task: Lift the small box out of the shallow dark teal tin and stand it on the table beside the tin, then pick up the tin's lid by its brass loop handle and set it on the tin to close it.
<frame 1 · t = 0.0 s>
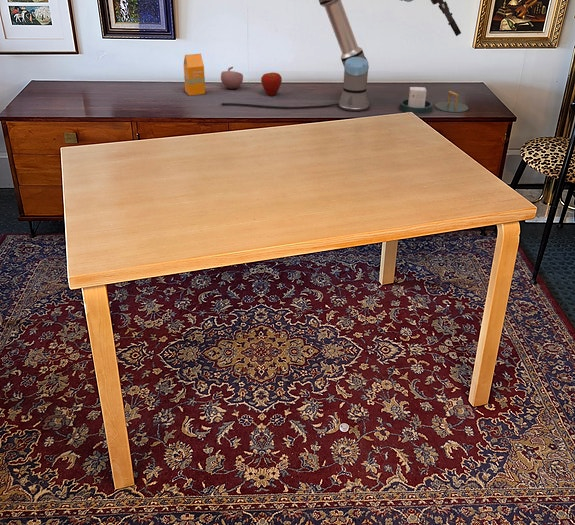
hand: (457, 31, 311), 36 cm above the table, tool tilted 35°, fingers open, 13 cm apart
orange juice: (195, 92, 339), on the table
tin: (415, 109, 321), on the table
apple: (271, 95, 338), on the table
pink round stemmed piece: (232, 88, 347), on the table
small box: (415, 109, 321), resting on tin
tin lid: (451, 107, 322), point 1 cm above the table
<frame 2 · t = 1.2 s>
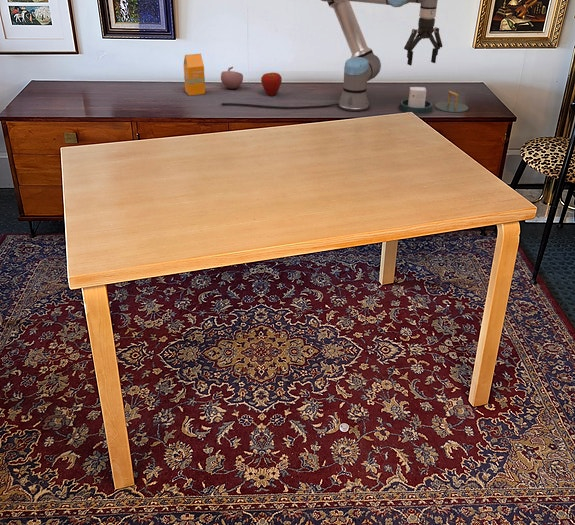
hand: (421, 63, 309), 23 cm above the table, tool pointing down, fingers open, 13 cm apart
nothing on the table moved.
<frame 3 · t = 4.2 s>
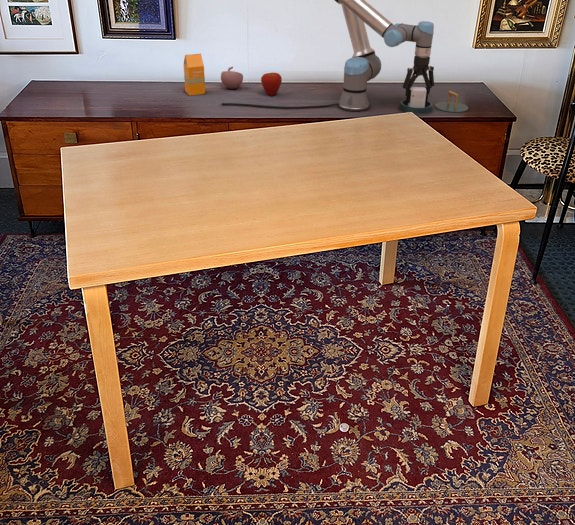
hand: (416, 101, 318), 4 cm above the table, tool pointing down, fingers closed on small box, 9 cm apart
small box: (415, 109, 321), resting on tin, touching gripper
everything else where it was.
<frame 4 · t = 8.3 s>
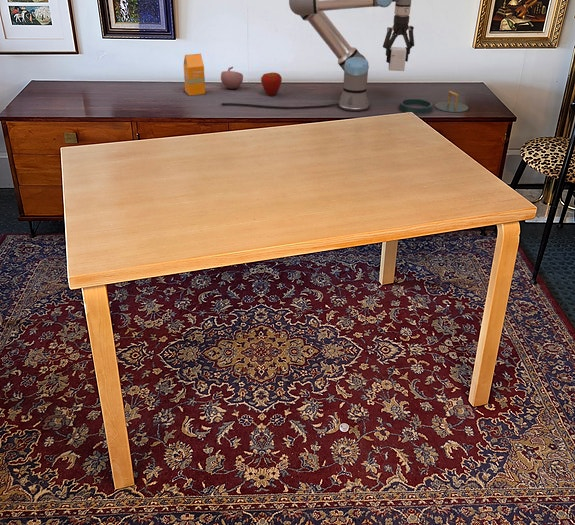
hand: (396, 61, 322), 20 cm above the table, tool pointing down, fingers closed on small box, 9 cm apart
small box: (396, 69, 324), point 16 cm above the table, touching gripper
everything else where it was.
when the fingers open (4 cm above the table, at t = 12.4 s): small box stays where it is, on the table.
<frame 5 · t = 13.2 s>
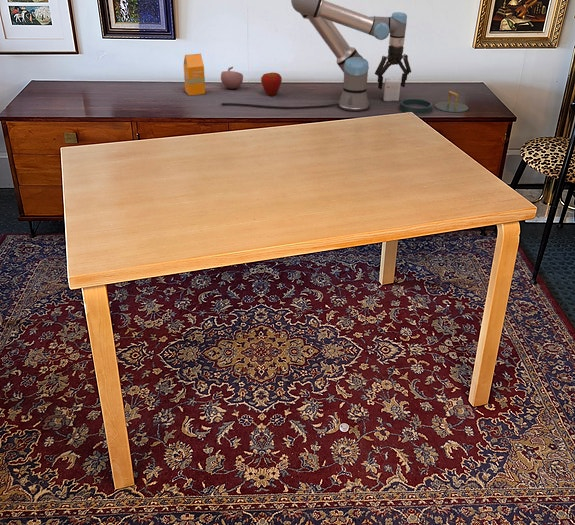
hand: (391, 87, 330), 6 cm above the table, tool pointing down, fingers open, 13 cm apart
small box: (390, 100, 333), on the table
everything else where it was.
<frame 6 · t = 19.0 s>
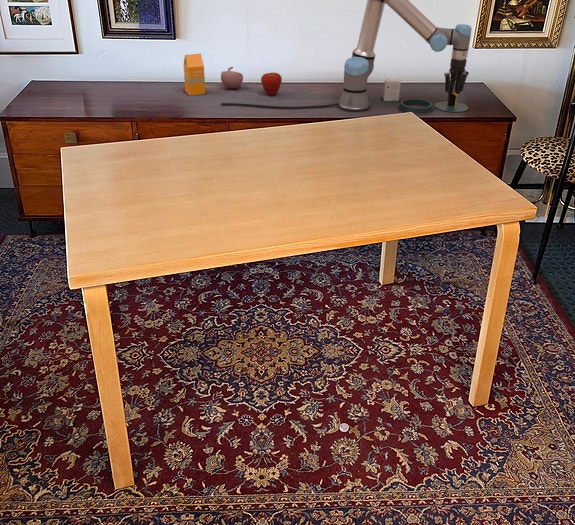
hand: (451, 105, 322), 2 cm above the table, tool pointing down, fingers closed on tin lid
tin lid: (451, 107, 322), point 1 cm above the table, touching gripper
everything else where it was.
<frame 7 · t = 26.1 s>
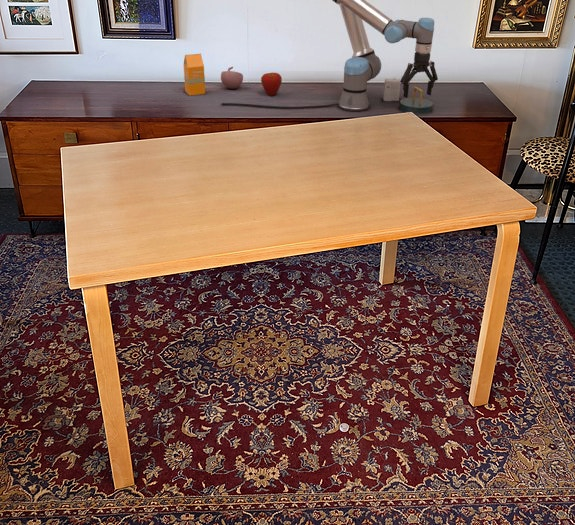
hand: (417, 95, 317), 7 cm above the table, tool pointing down, fingers open, 13 cm apart
tin lid: (416, 103, 319), point 3 cm above the table, touching tin
everything else where it was.
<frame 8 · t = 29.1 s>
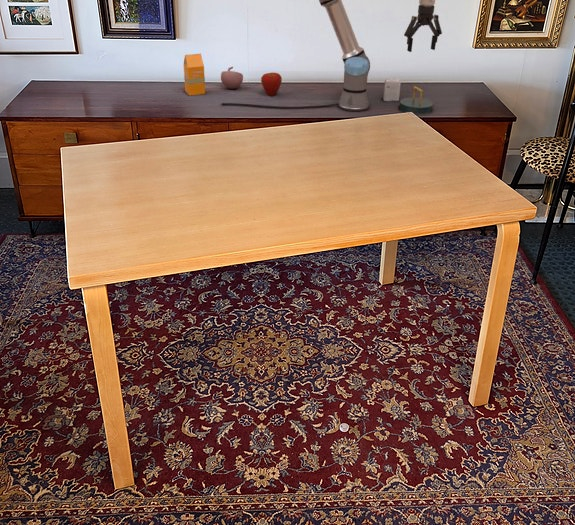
hand: (421, 50, 315), 27 cm above the table, tool pointing down, fingers open, 13 cm apart
nothing on the table moved.
at the end: small box inside the target area (0.1 cm from its centre), on the table; tin lid 0.1 cm off-centre on the tin, point 3.1 cm above the tin's base; tin lid tilted 0° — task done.
